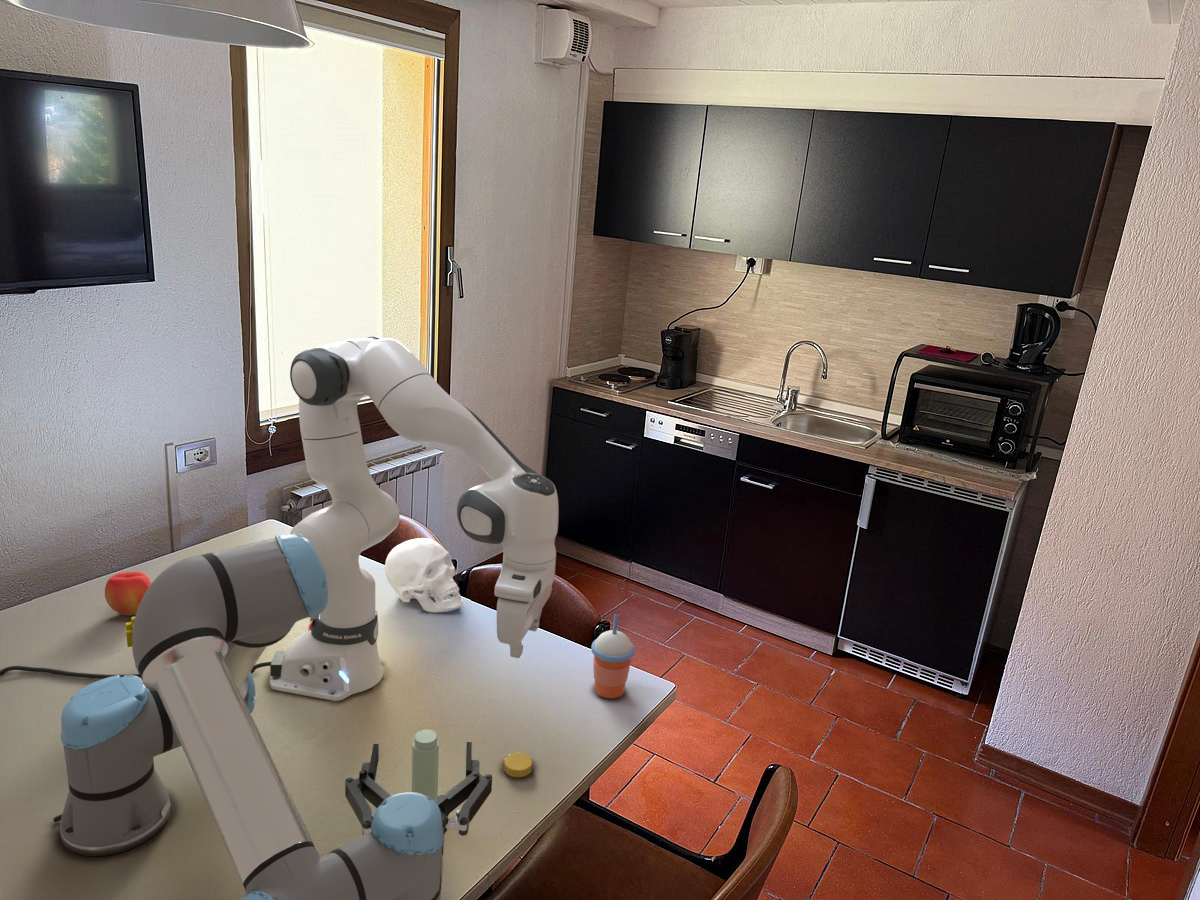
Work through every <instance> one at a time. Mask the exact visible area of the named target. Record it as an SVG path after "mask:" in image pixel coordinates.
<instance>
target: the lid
mask: <svg viewBox="0 0 1200 900" xmlns="http://www.w3.org/2000/svg"><path fill="white" fill-rule="evenodd" d="M532 770H533V759H532V758H531V756H530V755H528V754H527V753H524V752H512V753H510V754H508V755H507V756H505V758H504V761H503V771H504V772H505V774H506V775H508V776H509V777H512V778H523V777H527V776H528V775H530V774H531V772H532Z"/></svg>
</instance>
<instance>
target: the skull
mask: <svg viewBox="0 0 1200 900" xmlns="http://www.w3.org/2000/svg"><path fill="white" fill-rule="evenodd" d="M384 573H385V577H386V580H387V582H388V584H389V585H390V588H392V590H393V591H394V592H395V593H396V594H397V596H398V598H399V599H400V600H401V601H402V602H404V603H410V601H411V599H416V600H417V601H418V603H419V604H420V605H421V607H422V609H423V610H424V612H425V611H426V612H427V613H433V614H435V613H436V614H437V613H447V612H451V611H454V610H455V611H456V610H458V609H460V608H463V606H464V602H465V601H464V600H463V599H462V596H461V594H460V587H459V586H458V584H457V583H456V581H455V580H454V577H455V576H456V574H457V572H456V568H455V566H454V564H453V561H452V559H451V554H450V552H449V551H447V550H446V549H445V548H444V547H443V545H441V544H440V543H439V542H437V541H436V540H434V539H431V538H425V537H419V538H417V537H416V538H413V539H408V540H405V541H403V542H401V543H399V544H397V545H396V546H393V548H392V549H391V551H389V553H388V554H387V557H386V559H385V563H384ZM430 596H431V597H433V599H434V600H432V599H431V597H430Z"/></svg>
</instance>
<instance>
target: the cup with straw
mask: <svg viewBox="0 0 1200 900" xmlns="http://www.w3.org/2000/svg"><path fill="white" fill-rule="evenodd" d="M618 623H619V614H618V613H614V614H613V622H612V629H611V630H606V631H603V632H602V633H600V634H599V636H598V637H597V638H596V639H594V640H593V642H592V643H591V646H590V647H591V648H590V649H591V653H592V655H593V660H592V661H593V679H594V691H595V693H596V694H597V696H599V697H602V698H605V699H617V698H620V697H621V696H623V694H624V692H625V688H626V683H627V680H628V676H629V672H630V667H631V663H632V662H631V661H632V660H631V659H632V658H633V657H634V656H635V653H636V650H635V646H634V644H633V643H632V642H631V639H630V637H628V636H627V634H625V633H624V632H622V631H620V630H618Z"/></svg>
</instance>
